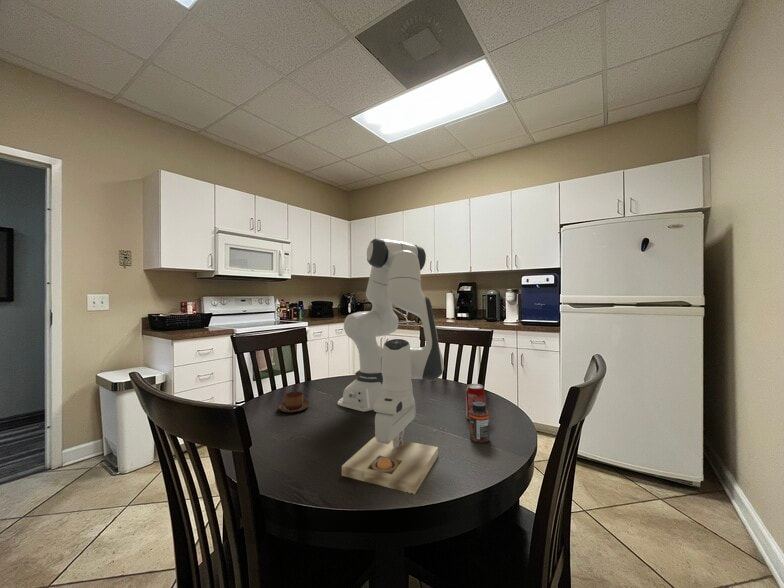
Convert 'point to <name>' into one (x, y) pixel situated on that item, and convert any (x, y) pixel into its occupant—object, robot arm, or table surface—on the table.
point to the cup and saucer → (294, 402)
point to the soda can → (474, 396)
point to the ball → (384, 464)
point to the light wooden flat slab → (406, 464)
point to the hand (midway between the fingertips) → (397, 445)
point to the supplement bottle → (479, 422)
